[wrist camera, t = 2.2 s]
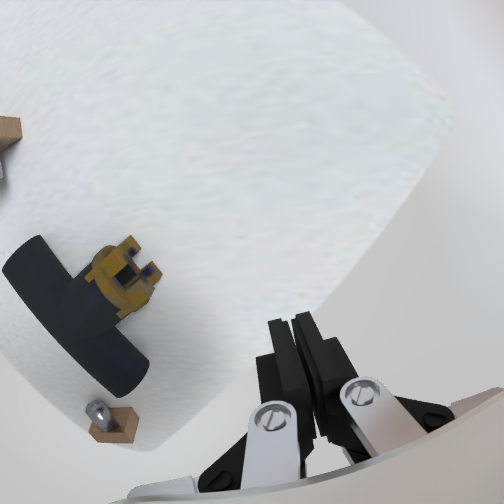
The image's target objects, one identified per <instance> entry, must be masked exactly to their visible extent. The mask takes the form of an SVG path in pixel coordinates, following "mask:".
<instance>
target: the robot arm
mask: <svg viewBox="0 0 504 504" xmlns="http://www.w3.org/2000/svg"><path fill="white" fill-rule="evenodd" d="M291 322H292V327H293V332H294V338H295V342H294V339H293V336H292V333H291V330H290V327H289V324H288V322H287V321H283V322H282V320H281V318H280V319H276V320H272V321H268V325H269V330H270V334H271V339H272V343H273V348H274V352H275V353H272V354H267V355H263V356H258V357H256V365H257V373H258V379H259V380H258V381H259V389H260V396H261V405H260V406H258V407H257V408H256V409H255V410H254V411H253V412H252V413H251V416H250V419H249V426H248V432H247V433H246V434H245V435H244V436H243V437H242V438H241V439H240V440H239V441H238V442H237V443H236V444H235V445H233V447H231V448H230V449H229V450H228V451H227V452H226V453H225V454H224V455H222V456H221V457H220V458H219V459H218V460H217V461H216V462H214V463H213V464H212V465H211V466H210V467H209V468H208V469H206V470H205V471H204V472H203V473H202V474H201V475H200V476H199V477H195V478H192V476H188V477H184V478H179V479H174V480H170V481H164V482H159V483H153V484H147V485H141V486H137V487H135V488H134V489H132V490H131V491H130V492H129V494H128V495H127V499H122V500H119V501H115V502H112V503H109V504H504V388H499V387H497V388H492V389H490V390H487V391H484V392H482V393H479V394H476V395H474V396H471V397H468V398H465V399H462V400H459V401H456V402H453V403H451V406H449V407H446V406H442V405H439V404H433V403H428V402H422V401H417V400H412V399H407V398H402V397H397V396H393V395H392V394H391V393H390V391H389V390H388V389H387V388H386V387H385V386H384V385H383V384H382V383H381V382H380V381H378V380H377V379H375V378H372V377H359V376H358V375H357V373H356V371H355V369H354V367H353V365H352V364H351V362H350V360H349V358H348V356H347V355H346V353H345V351H344V349H343V348H342V346H341V344H340V342H339V341H338V339H337V337H333V338H330V339H326V340H323V339H322V336H321V334H320V332H319V330H318V328H317V326H316V324H315V322H314V320H313V318H312V316H311V314H310V312H309V311H308V312H304V313H300V314H296V318H295V319H291ZM295 343H296V345H295ZM313 413H314V415H313ZM314 416H315V419H316V422H317V425H318V428H319V432H320V435H321V437H323V436H327V439H328V442H329V443H330V442H332V443H333V444H335V445H338V446H341V447H342V451H343V453H344V454H345V456H346V458H347V459H348V461H349V463H350V464H351V466H348V467H345V468H342V469H339V470H335V471H332V472H328V473H324V474H321V475H317V476H313V477H309V478H307V462H306V458H307V456H308V455H309V454H310V453H311V452H312V450H313V449H314V445H313V439H316V438H317V436H316V429H315V422H314Z"/></svg>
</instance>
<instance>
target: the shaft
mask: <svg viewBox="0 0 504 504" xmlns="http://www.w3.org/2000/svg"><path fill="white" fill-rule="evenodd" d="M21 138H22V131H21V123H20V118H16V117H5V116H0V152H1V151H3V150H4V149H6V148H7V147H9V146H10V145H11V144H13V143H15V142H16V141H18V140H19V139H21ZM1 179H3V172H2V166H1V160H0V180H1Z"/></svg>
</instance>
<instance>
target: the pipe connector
mask: <svg viewBox="0 0 504 504" xmlns="http://www.w3.org/2000/svg"><path fill="white" fill-rule="evenodd" d="M140 249H141V247H140V246H139V244H138V243H137V242H136V241H135V239H134V238H133V237H132V236H131V235H130V236H129V237H128V238H127V239H126V240H124V241H123V242H122V243H121V244H120V245H119V246H117V247H116V246H111V245H109V246H105V247H104V248H102V249H101V250H100V251H99V252H98V253H97V254H96V255H95V256H94V258H93V261H92V262H91V263H90V264H88V265H87V266H86V267H85V268H84V269H83V270H82V271H81V272H80V273H79V274H78V275H77V276H76V277H75V278H74V279H73V278H72V277H71V276H70V275H69V273H68V272H67V271H66V269H65V268H64V267H63V266H62V264H61V263H60V262H59V260H58V259H57V258H56V256H55V255H54V254H53V252H52V251H51V250H50V248H49V247H48V245H47V244H46V243H45V241H44V240H43V238H42V237H41V235H37V236H34V237H33V238H31V239H29V240H28V241H27V242H25V243H24V244H23V245H22V246H20V247H19V248H18V249H17V250H16V251H15V252H14V253H13V254H12V255H11V257H10V258H9V259H8V260H7V262H6V263H5V265H4V266H3V269H2V272H3V274H4V275H5V277H6V278H7V280H8V281H9V282H10V284H11V285H12V287H13V288H14V289H15V291H16V292H17V294H18V295H19V296H20V298H21V299H22V300H23V301H24V303H25V304H26V305H27V307H28V308H29V309H30V310H31V312H32V313H33V314H34V315H35V316H36V318H37V319H38V320H39V321H40V322H41V324H42V325H43V326H44V327H45V328H46V329H47V331H48V332H49V333H50V334H51V335H52V336H53V337H54V338H55V339H56V341H57V342H58V343H59V344H60V345H61V346H62V347H63V348H64V349H65V350H66V351H67V352H68V353H69V354H70V355H71V356H72V357H73V358H74V359H75V360H76V361H77V362H78V363H79V364H80V365H81V366H82V367H83V368H84V369H85V370H86V371H87V372H88V373H89V374H90V375H91V376H92V377H93V378H95V379H96V380H97V381H98V382H99V383H100V384H101V385H102V386H104V387H105V388H106V389H107V390H108V391H109V392H110V393H112V394H113V395H114V396H115V397H117V398H121V397H124V396H126V395H127V394H129V393H130V392H131V391H132V390H133V389H135V388H136V387H137V385H138V384H139V383H140V382H141V381H142V379H143V378H144V376H145V374H146V373H147V370H148V368H149V360H148V359H147V358H146V357H145V356H143V355H142V354H141V353H140V352H139V351H138V350H137V349H136V348H135V347H134V346H133V345H132V344H131V343H130V342H129V341H128V340H127V339H126V338H125V337H124V336H123V335H122V334H121V333H120V332H119V331H118V330H117V329H116V327H115V326H114V325H115V324H117V323H118V322H119V321H121V320H122V319H123V318H125V317H126V316H127V315H129V314H130V313H131V312H136V311H137V310H139V309H140V308H142V307H143V306H144V305H146V304H147V303H148V302H149V299H150V297H151V295H152V293H153V291H154V289H155V288H154V287H153V285H154V284H156V283H157V282H158V281H159V280H160V278H161V276H162V272H161V271H160V270H159V269H158V268H157V266H156V265H155V264H154V263H153V262H150V263H149V264H148V265H147V266H145V267H144V268H143V269H142V270H140V269H139V268H138V266H137V265H136V264H135V263H134V262H133V260H132V259H131V258H132V257H133V256H134V255H135V254H137V252H138V251H139V250H140Z"/></svg>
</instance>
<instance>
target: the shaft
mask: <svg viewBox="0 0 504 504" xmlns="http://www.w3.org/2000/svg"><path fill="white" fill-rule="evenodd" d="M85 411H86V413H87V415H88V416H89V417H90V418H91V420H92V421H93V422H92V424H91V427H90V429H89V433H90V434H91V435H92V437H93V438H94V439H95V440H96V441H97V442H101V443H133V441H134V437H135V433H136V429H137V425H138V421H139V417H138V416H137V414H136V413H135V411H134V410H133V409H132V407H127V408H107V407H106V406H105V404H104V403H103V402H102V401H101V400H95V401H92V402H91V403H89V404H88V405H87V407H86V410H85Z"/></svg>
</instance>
